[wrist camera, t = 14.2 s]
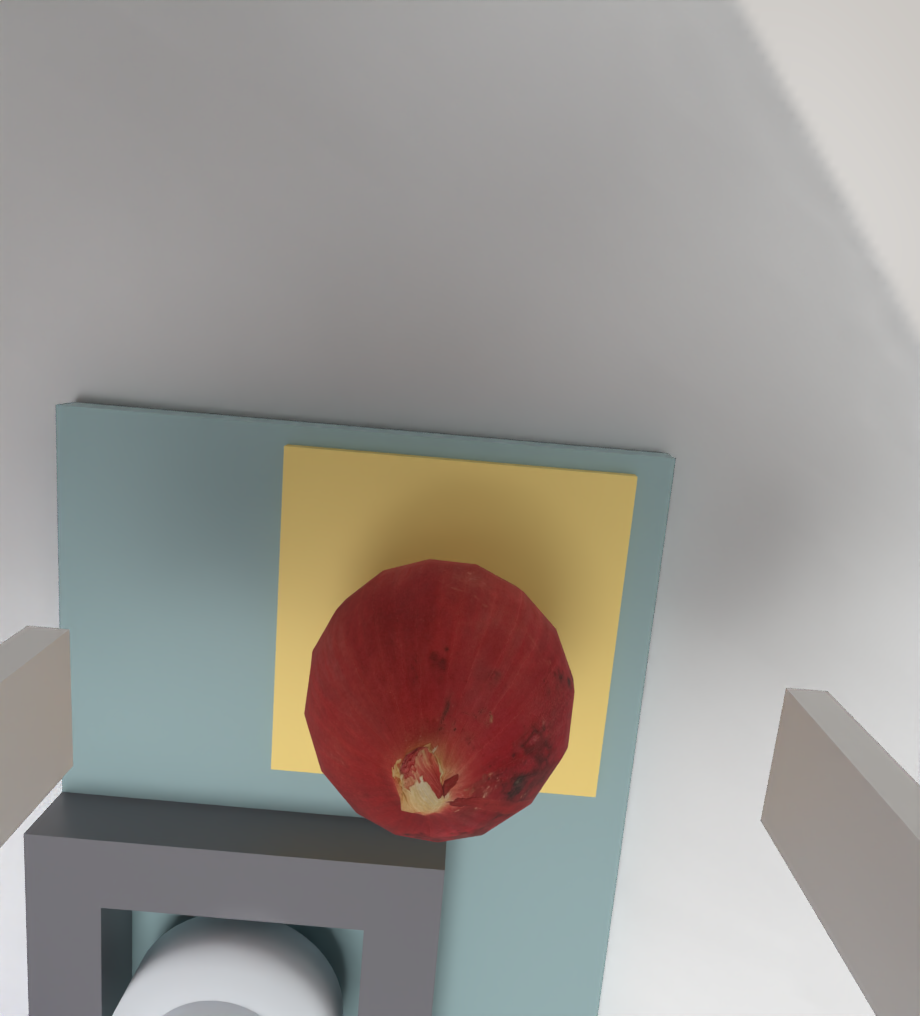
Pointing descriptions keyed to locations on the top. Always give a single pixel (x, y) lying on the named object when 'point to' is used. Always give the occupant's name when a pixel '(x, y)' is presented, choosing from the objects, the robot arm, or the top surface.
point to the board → (251, 673)
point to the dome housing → (221, 892)
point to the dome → (232, 973)
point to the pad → (458, 538)
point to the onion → (439, 700)
